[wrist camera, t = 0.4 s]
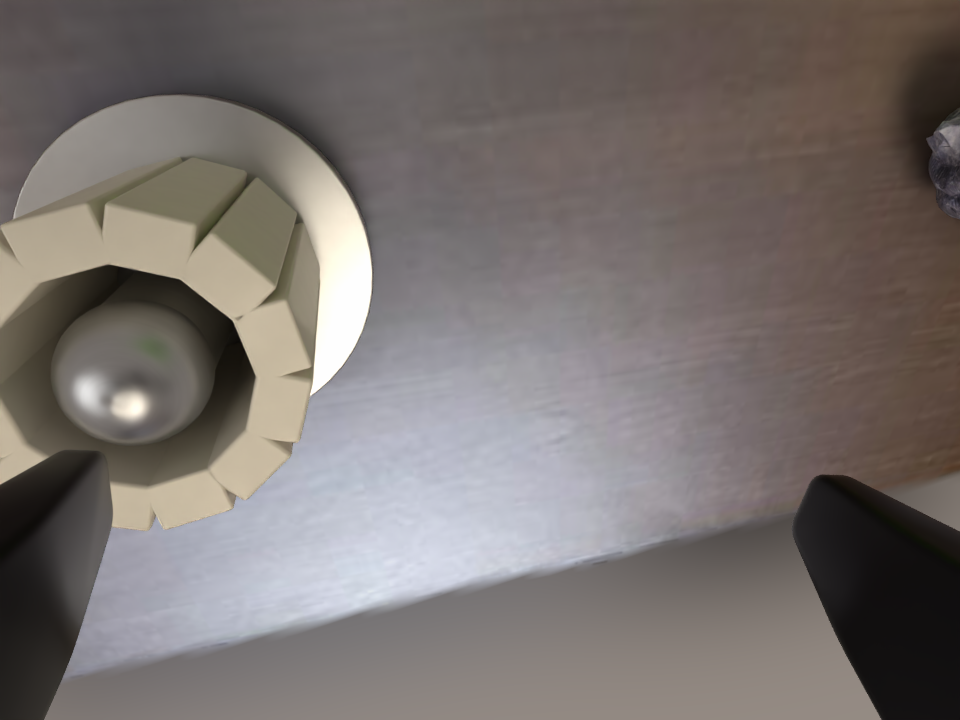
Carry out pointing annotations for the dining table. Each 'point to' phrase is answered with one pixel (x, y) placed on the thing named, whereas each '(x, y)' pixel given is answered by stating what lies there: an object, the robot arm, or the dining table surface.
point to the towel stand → (169, 301)
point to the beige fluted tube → (208, 271)
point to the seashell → (946, 164)
